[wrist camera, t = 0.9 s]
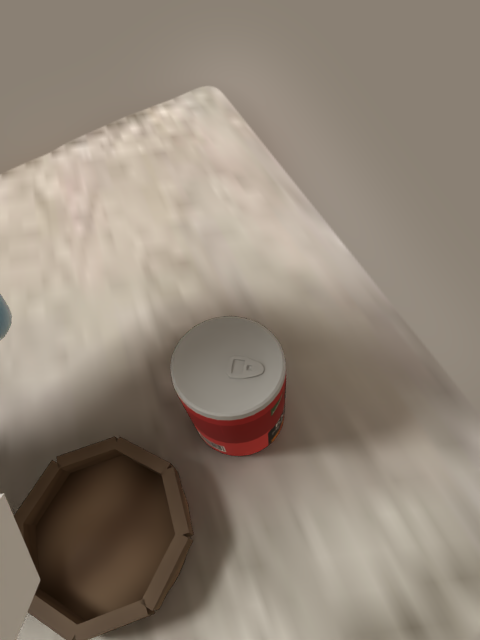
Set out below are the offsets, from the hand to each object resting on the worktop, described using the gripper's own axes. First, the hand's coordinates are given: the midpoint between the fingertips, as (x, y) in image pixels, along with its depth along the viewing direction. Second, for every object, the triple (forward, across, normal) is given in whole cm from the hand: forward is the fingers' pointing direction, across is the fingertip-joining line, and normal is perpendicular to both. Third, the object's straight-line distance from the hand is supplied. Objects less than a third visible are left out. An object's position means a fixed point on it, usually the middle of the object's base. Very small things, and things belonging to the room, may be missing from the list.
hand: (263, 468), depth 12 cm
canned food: (+26, 0, -11) cm, 28 cm away
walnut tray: (+21, -12, -15) cm, 29 cm away
